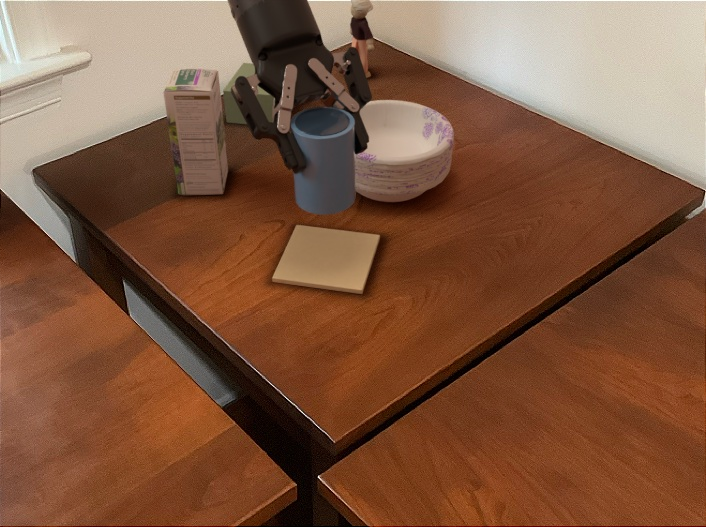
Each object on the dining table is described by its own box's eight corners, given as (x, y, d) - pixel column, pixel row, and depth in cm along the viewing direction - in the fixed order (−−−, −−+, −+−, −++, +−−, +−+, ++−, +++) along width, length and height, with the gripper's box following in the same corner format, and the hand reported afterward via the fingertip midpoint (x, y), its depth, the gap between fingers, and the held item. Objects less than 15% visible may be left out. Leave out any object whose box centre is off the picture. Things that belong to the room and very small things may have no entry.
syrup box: (185, 171, 106) (168, 67, 97) (230, 170, 106) (218, 67, 97) (178, 196, 102) (160, 90, 93) (225, 195, 102) (212, 89, 93)
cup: (287, 211, 85) (282, 134, 79) (304, 177, 89) (299, 102, 84) (348, 218, 83) (346, 140, 78) (361, 184, 88) (360, 108, 83)
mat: (272, 282, 89) (271, 278, 88) (296, 228, 96) (296, 224, 96) (362, 294, 87) (362, 290, 87) (380, 238, 95) (380, 234, 94)
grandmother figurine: (336, 68, 129) (334, -11, 121) (356, 62, 131) (355, -16, 123) (364, 87, 124) (364, 5, 116) (384, 80, 126) (385, -1, 118)
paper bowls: (475, 187, 103) (480, 132, 98) (381, 232, 96) (381, 174, 91) (397, 139, 112) (399, 86, 107) (306, 176, 105) (303, 121, 100)
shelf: (226, 122, 116) (222, 90, 113) (246, 93, 123) (243, 62, 120) (287, 128, 115) (285, 96, 112) (304, 99, 122) (302, 67, 119)
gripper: (211, 6, 76) (278, 171, 76) (344, -24, 82) (407, 130, 81) (197, 40, 83) (257, 192, 83) (320, 10, 89) (378, 152, 88)
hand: (331, 160), depth 82 cm, fingers closed on cup, 6 cm apart
